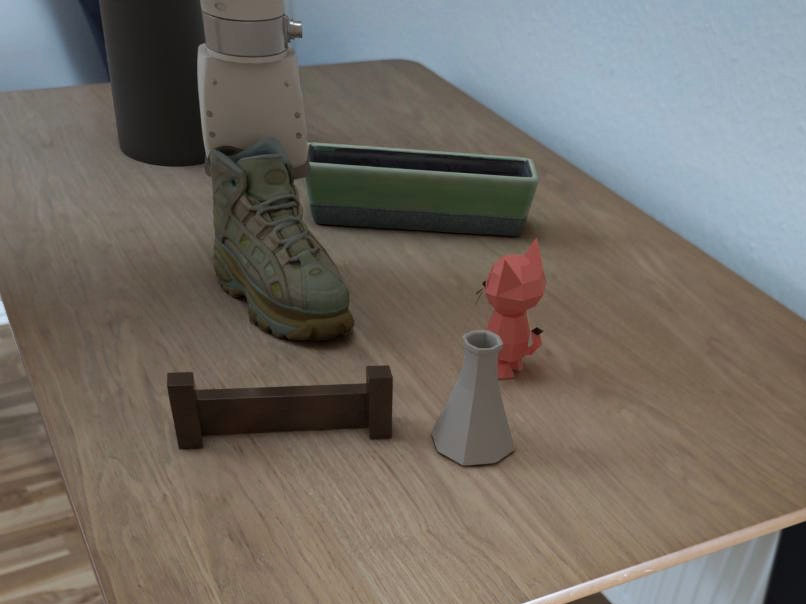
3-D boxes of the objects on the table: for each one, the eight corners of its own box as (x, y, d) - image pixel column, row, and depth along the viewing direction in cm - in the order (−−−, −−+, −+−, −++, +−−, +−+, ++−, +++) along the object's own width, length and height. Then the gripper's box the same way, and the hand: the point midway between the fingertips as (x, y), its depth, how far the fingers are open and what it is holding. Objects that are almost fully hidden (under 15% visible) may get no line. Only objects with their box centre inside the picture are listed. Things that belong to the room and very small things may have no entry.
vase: (245, 155, 119) (217, -128, 98) (149, 172, 112) (97, -127, 91) (195, 122, 125) (159, -150, 104) (102, 137, 119) (43, -151, 97)
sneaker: (260, 359, 84) (258, 193, 74) (199, 274, 95) (190, 119, 85) (364, 349, 89) (376, 191, 79) (295, 269, 100) (297, 121, 90)
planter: (526, 217, 113) (533, 156, 108) (531, 242, 108) (539, 180, 103) (306, 203, 110) (303, 140, 105) (302, 228, 105) (298, 163, 100)
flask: (484, 412, 82) (495, 310, 75) (529, 454, 78) (545, 351, 71) (416, 431, 79) (421, 327, 72) (459, 476, 75) (468, 371, 68)
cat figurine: (494, 343, 91) (507, 224, 82) (553, 365, 89) (572, 246, 80) (458, 371, 87) (467, 249, 78) (519, 396, 85) (536, 273, 76)
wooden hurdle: (178, 449, 74) (166, 385, 70) (179, 425, 77) (167, 363, 72) (391, 438, 78) (393, 377, 74) (386, 416, 80) (387, 356, 76)
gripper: (322, 25, 87) (330, 217, 100) (162, 19, 84) (192, 219, 97) (331, 48, 82) (338, 247, 95) (161, 43, 79) (193, 249, 92)
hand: (264, 232), depth 96 cm, fingers closed
